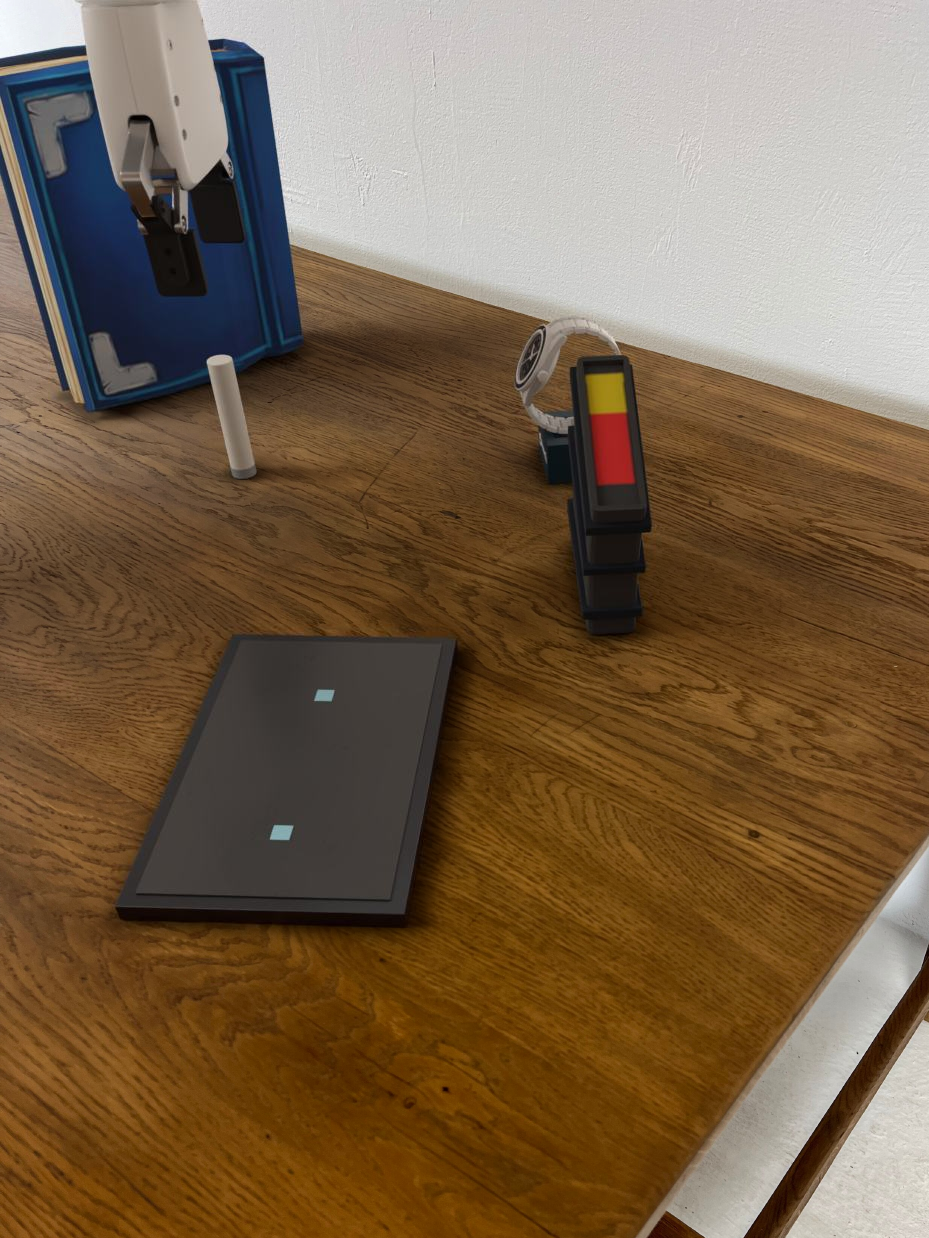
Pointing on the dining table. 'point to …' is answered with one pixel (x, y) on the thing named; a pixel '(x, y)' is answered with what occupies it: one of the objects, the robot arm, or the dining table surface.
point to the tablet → (300, 785)
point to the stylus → (231, 416)
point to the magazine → (607, 493)
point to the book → (140, 237)
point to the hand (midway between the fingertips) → (205, 267)
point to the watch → (534, 376)
